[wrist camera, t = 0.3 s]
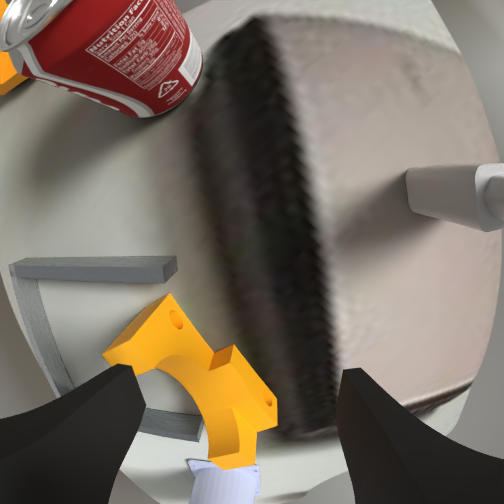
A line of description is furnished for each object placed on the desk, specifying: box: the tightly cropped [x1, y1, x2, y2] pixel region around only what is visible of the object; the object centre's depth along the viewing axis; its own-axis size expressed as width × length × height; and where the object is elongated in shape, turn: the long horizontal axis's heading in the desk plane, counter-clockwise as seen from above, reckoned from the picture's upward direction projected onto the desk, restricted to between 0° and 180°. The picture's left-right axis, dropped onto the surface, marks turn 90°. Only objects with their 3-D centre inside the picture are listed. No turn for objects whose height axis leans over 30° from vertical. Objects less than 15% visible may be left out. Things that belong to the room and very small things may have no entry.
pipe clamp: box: [102, 293, 277, 470], centre depth 16 cm, size 12×4×6 cm, turn 31°
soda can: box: [0, 0, 203, 118], centre depth 9 cm, size 7×7×12 cm
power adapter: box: [405, 163, 504, 232], centre depth 9 cm, size 3×5×12 cm, turn 102°
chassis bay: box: [9, 256, 204, 442], centre depth 18 cm, size 16×16×2 cm
